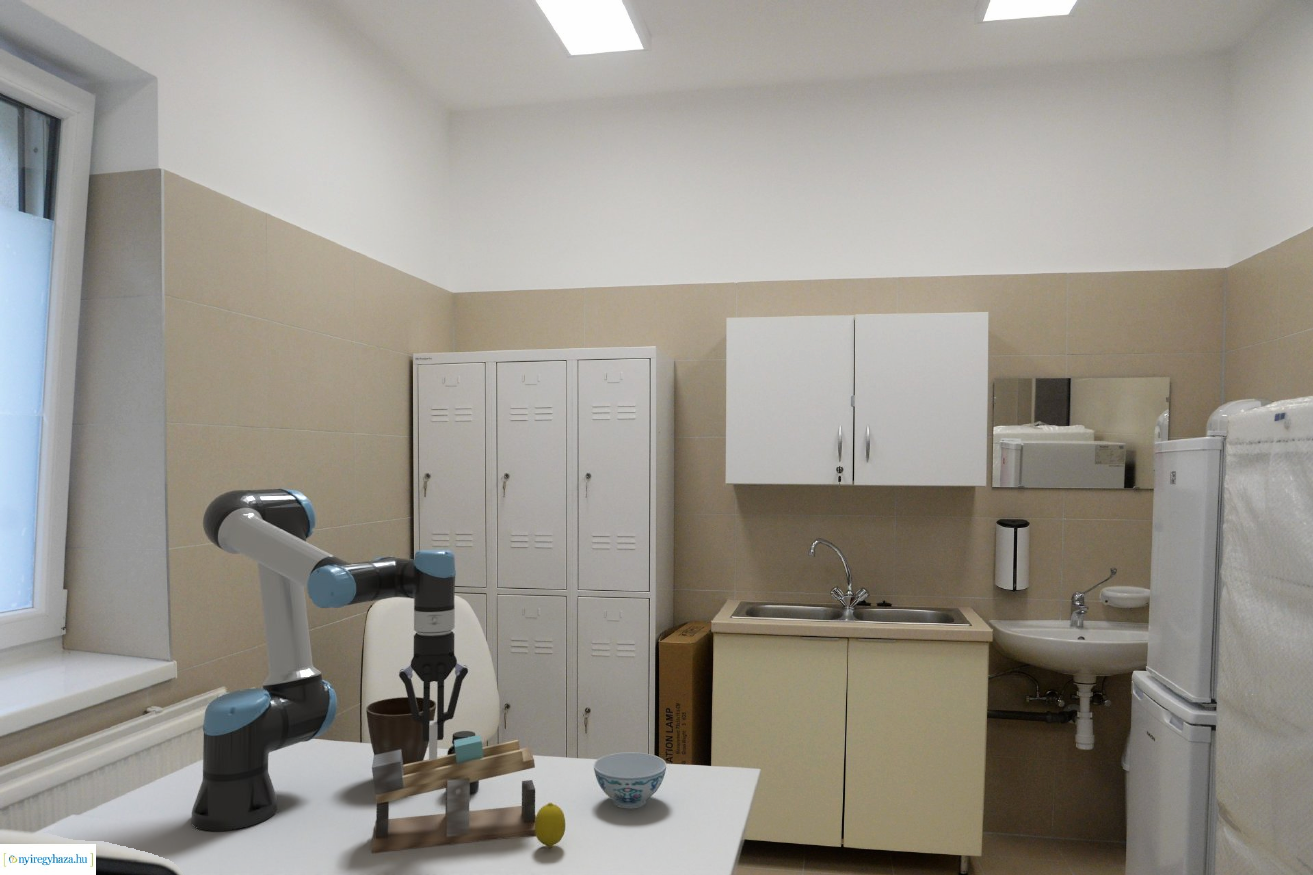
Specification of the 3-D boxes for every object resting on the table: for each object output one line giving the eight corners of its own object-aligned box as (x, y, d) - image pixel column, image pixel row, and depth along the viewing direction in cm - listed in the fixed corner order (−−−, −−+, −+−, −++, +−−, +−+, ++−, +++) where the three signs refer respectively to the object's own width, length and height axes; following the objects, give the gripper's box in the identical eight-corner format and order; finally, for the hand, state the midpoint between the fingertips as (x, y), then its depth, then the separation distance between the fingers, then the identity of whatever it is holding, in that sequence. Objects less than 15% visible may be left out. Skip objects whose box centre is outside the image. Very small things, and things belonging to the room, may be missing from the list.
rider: (458, 773, 161) (454, 746, 161) (457, 765, 165) (453, 740, 165) (485, 767, 163) (481, 740, 163) (483, 760, 166) (480, 734, 166)
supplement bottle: (471, 798, 178) (471, 739, 179) (440, 795, 180) (441, 737, 180) (484, 786, 185) (484, 730, 186) (454, 783, 187) (455, 727, 187)
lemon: (550, 838, 159) (550, 794, 160) (571, 846, 156) (571, 802, 156) (528, 848, 155) (528, 803, 155) (549, 857, 151) (549, 811, 152)
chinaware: (677, 795, 180) (677, 758, 181) (647, 822, 167) (647, 781, 167) (614, 784, 187) (614, 748, 187) (580, 808, 173) (580, 770, 173)
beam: (376, 803, 156) (371, 767, 156) (378, 789, 163) (373, 754, 163) (535, 767, 163) (530, 733, 163) (530, 754, 170) (526, 721, 170)
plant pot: (410, 761, 200) (411, 692, 201) (448, 777, 190) (449, 704, 191) (351, 779, 189) (353, 706, 190) (389, 796, 179) (390, 719, 180)
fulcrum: (371, 852, 153) (372, 790, 153) (375, 825, 165) (376, 767, 165) (540, 834, 161) (540, 774, 161) (532, 809, 172) (532, 754, 173)
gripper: (397, 637, 157) (396, 767, 157) (470, 633, 161) (469, 760, 160) (399, 629, 165) (397, 753, 164) (468, 626, 168) (467, 748, 167)
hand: (433, 757), depth 162 cm, fingers closed
